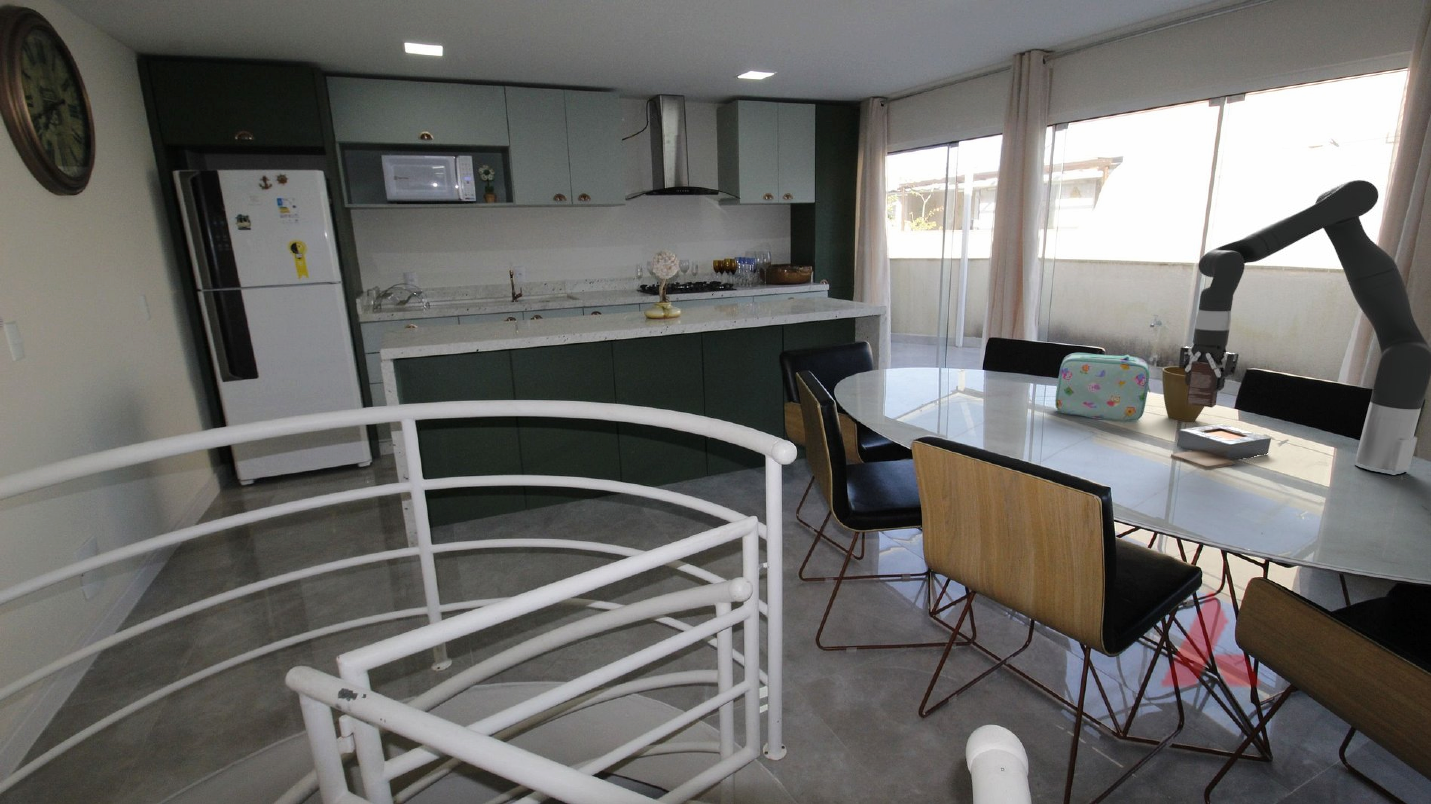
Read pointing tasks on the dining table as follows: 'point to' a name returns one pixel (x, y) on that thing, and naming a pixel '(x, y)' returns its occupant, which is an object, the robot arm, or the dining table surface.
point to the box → (1202, 385)
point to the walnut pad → (1202, 459)
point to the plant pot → (1178, 396)
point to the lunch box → (1103, 386)
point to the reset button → (1224, 435)
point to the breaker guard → (1223, 442)
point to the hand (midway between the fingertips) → (1203, 387)
